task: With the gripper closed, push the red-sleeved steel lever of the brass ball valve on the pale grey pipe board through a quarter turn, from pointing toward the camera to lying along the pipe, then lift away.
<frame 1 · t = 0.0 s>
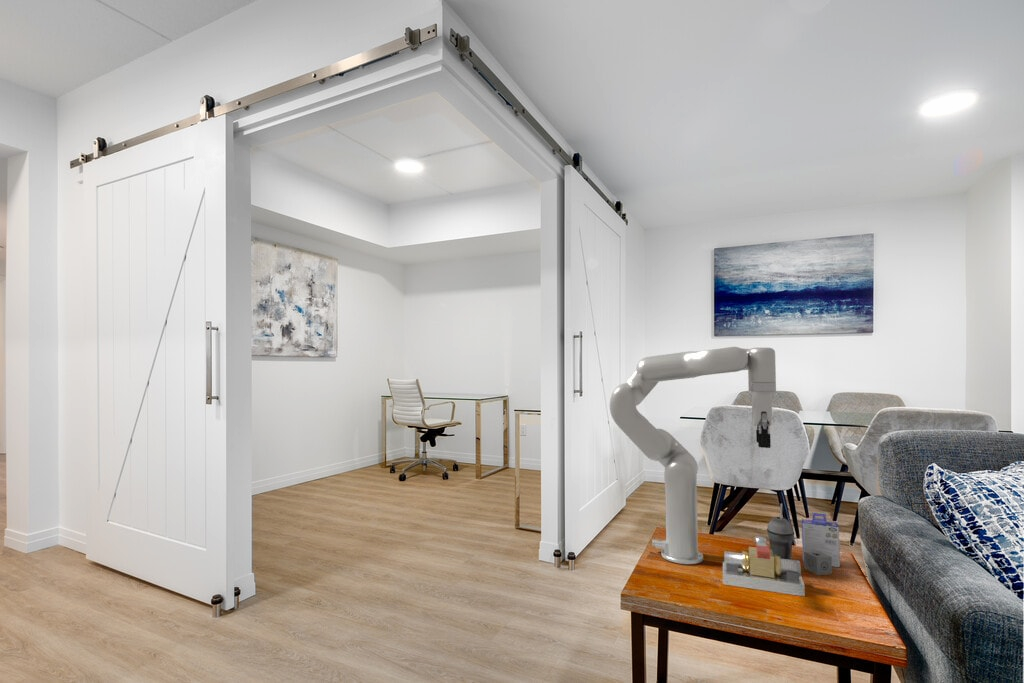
hand: (763, 445, 155), 37 cm above the table, tool pointing down, fingers open, 9 cm apart
beverage cup: (781, 571, 152), on the table
ink cartridge box: (821, 563, 159), on the table
valve lever: (762, 546, 139), point 12 cm above the table, hinge at 0.0°
dice cube: (817, 571, 152), on the table
pipe valve board: (761, 583, 143), on the table
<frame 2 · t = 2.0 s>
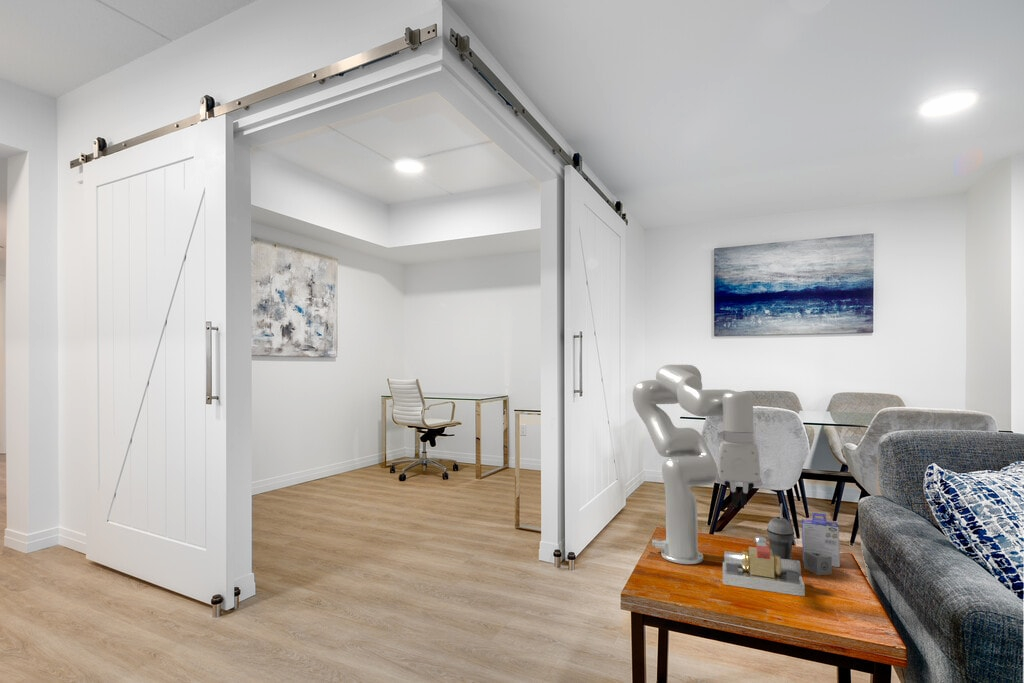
hand: (739, 506, 138), 23 cm above the table, tool pointing down, fingers closed
nothing on the table moved.
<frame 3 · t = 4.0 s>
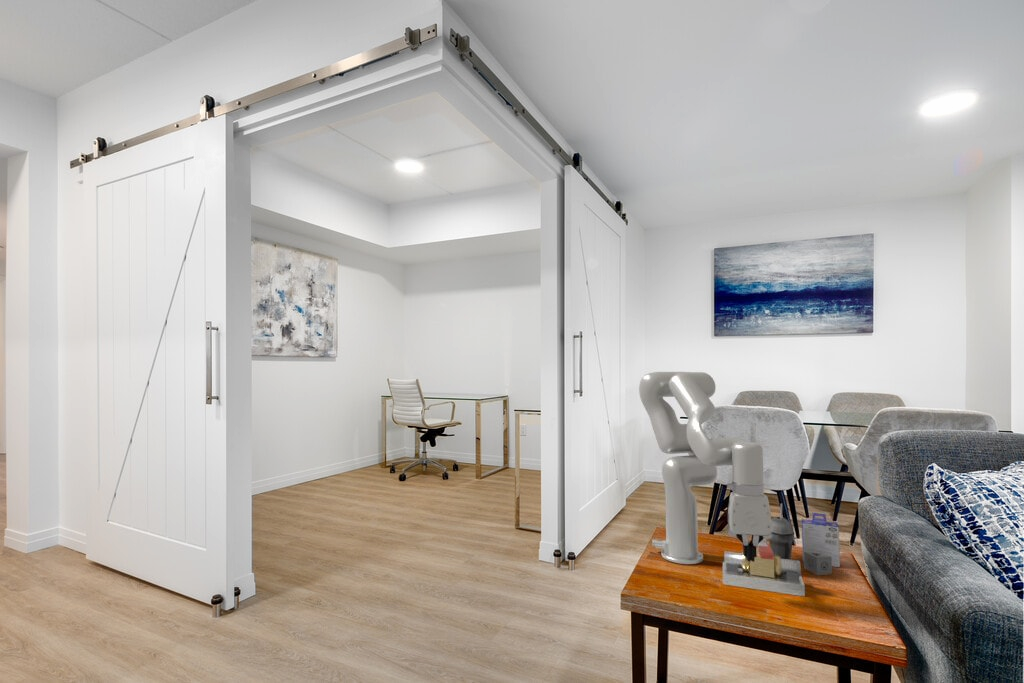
hand: (749, 559, 136), 10 cm above the table, tool pointing down, fingers closed
valve lever: (763, 546, 139), point 12 cm above the table, hinge at 3.7°, touching gripper
everything else where it was.
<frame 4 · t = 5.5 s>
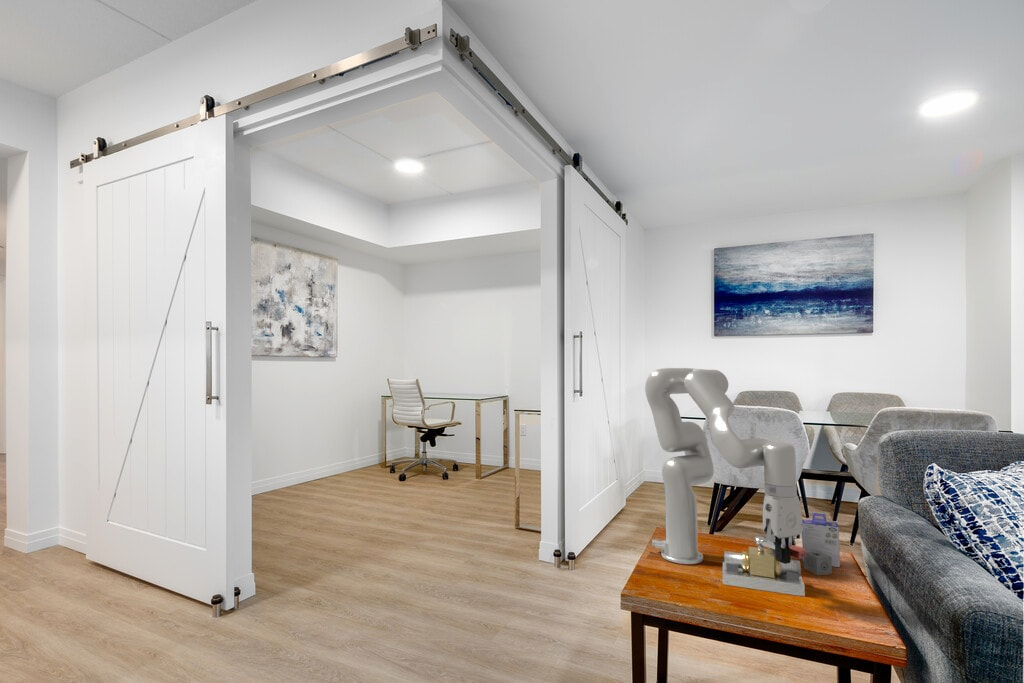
hand: (782, 561, 134), 10 cm above the table, tool pointing down, fingers closed
valve lever: (778, 546, 139), point 12 cm above the table, hinge at 51.9°, touching gripper
everything else where it was.
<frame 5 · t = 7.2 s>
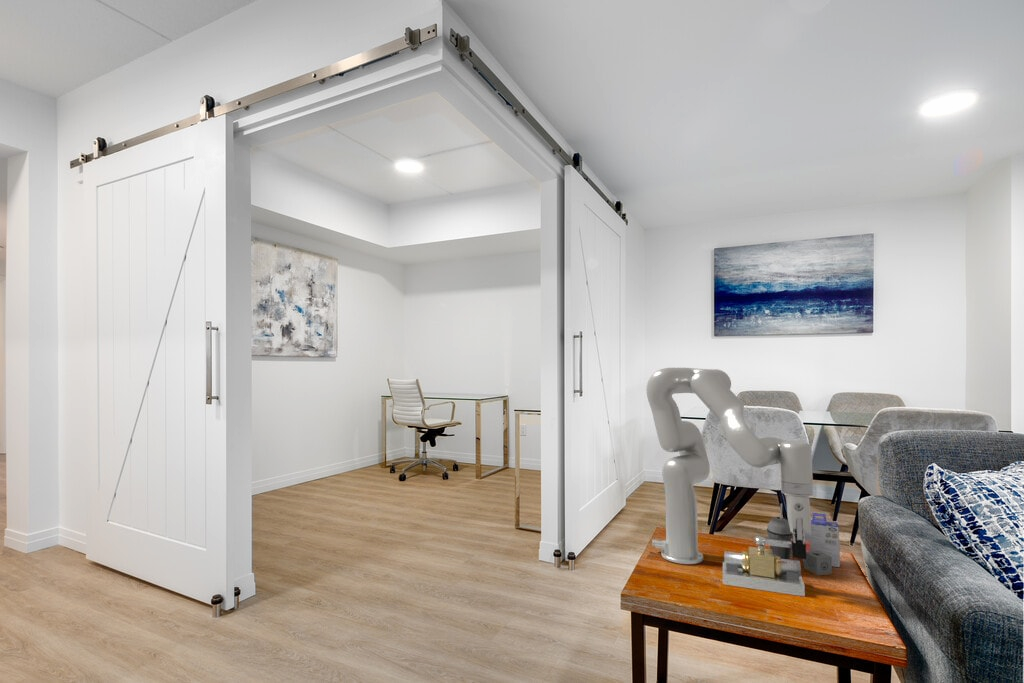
hand: (799, 557, 137), 10 cm above the table, tool pointing down, fingers closed
valve lever: (781, 542, 142), point 12 cm above the table, hinge at 91.3°, touching gripper
everything else where it was.
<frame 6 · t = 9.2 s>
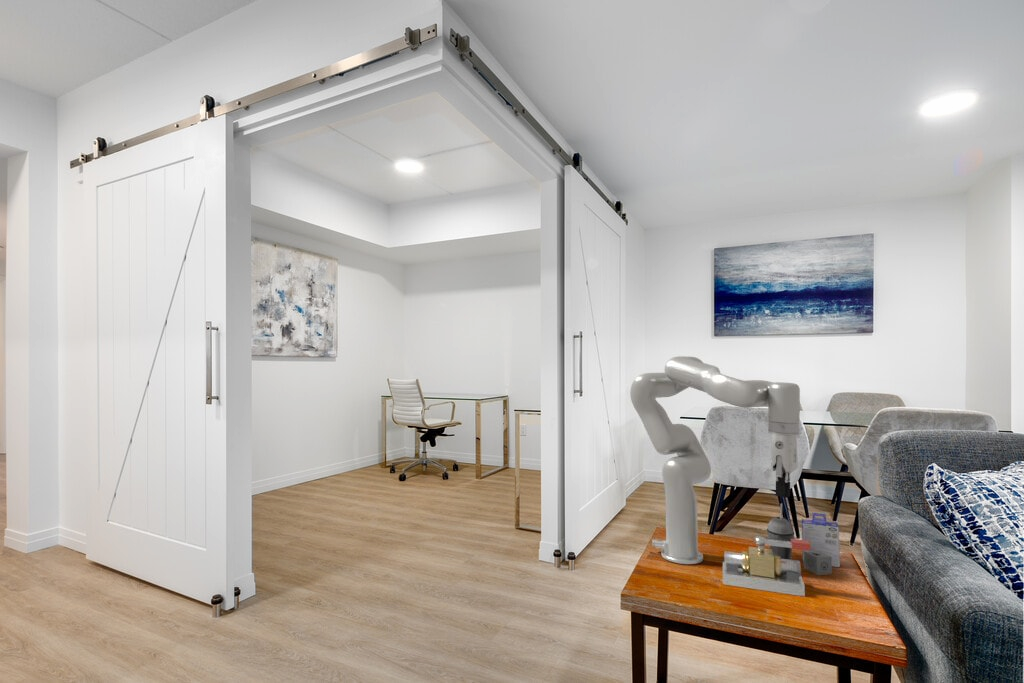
hand: (782, 496, 139), 26 cm above the table, tool pointing down, fingers closed
valve lever: (781, 542, 142), point 12 cm above the table, hinge at 91.3°
everything else where it was.
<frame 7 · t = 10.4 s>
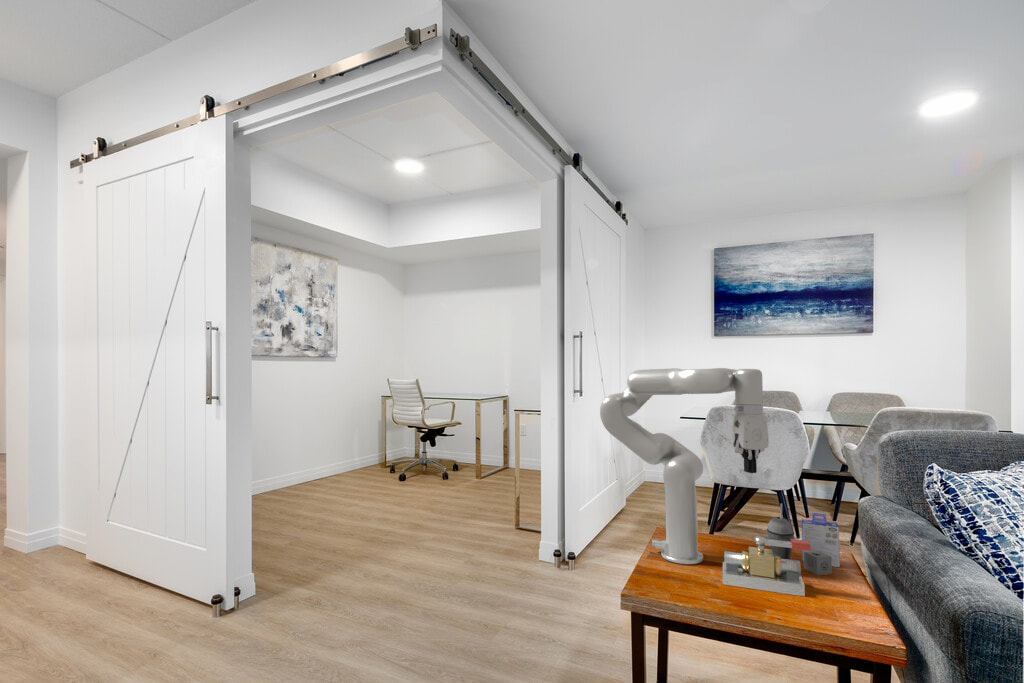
hand: (750, 472, 153), 29 cm above the table, tool pointing down, fingers closed
nothing on the table moved.
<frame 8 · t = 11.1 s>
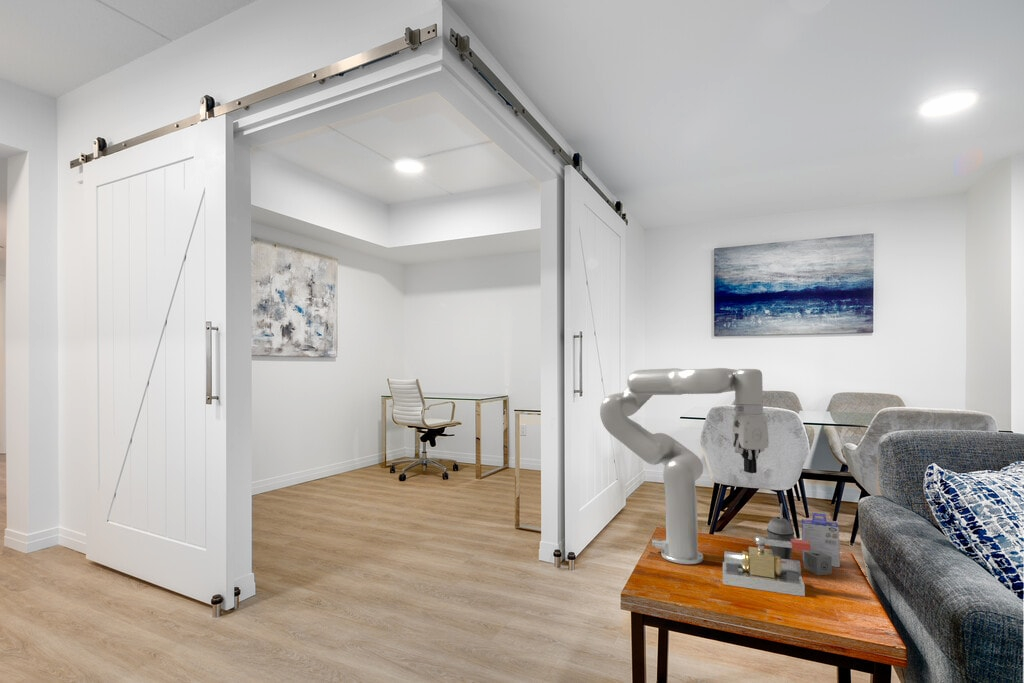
hand: (750, 472, 153), 29 cm above the table, tool pointing down, fingers closed
nothing on the table moved.
at the end: valve lever at +91° (first picture: +0°) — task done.
